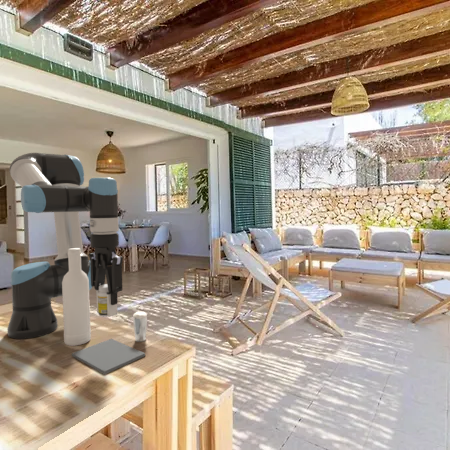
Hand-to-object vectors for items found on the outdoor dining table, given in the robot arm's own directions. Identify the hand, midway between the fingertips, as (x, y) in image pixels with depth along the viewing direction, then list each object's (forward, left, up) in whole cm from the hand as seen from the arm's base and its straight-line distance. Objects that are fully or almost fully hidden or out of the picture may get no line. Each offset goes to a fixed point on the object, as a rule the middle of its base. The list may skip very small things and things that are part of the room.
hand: (107, 313), depth 95 cm
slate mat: (0, 0, -13) cm, 13 cm away
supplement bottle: (0, 0, -1) cm, 1 cm away
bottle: (-17, 0, -13) cm, 22 cm away
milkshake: (-1, +13, -13) cm, 18 cm away
